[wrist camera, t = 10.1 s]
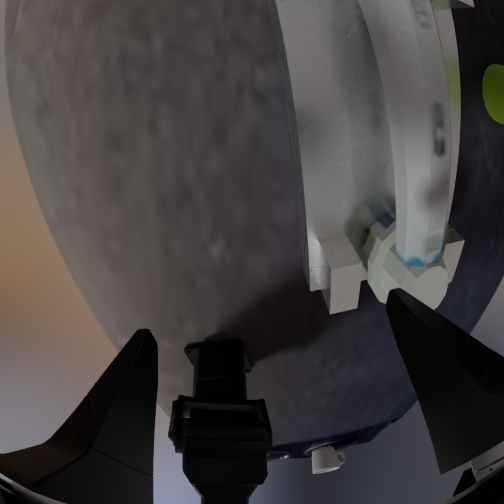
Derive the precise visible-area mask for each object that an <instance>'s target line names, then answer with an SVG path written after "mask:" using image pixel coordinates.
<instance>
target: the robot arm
mask: <svg viewBox="0 0 504 504" xmlns="http://www.w3.org/2000/svg"><path fill="white" fill-rule="evenodd" d="M386 312H387V315H388V318H389V321H390V324H391V327H392V331H393V334H394V337H395V340H396V344H397V346H398V349H399V351H400V353H401V356H402V358H403V361H404V363H405V366H406V368H407V371H408V373H409V376H410V379H411V381H412V384H413V387H414V389H415V392H416V395H417V398H418V400H419V403H420V406H421V409H422V412H423V415H424V418H425V421H426V424H427V427H428V430H429V434H430V437H431V441H432V444H433V447H434V451H435V455H436V459H437V463H438V466H439V470H440V473H441V474H444V473H446V472H448V471H450V470H453V469H454V468H457V467H459V466H461V465H463V464H465V463H467V462H469V461H470V464H471V467H469V468H468V469H466V470H465V471H464V472H463V475H462V477H461V479H460V481H459V483H458V485H457V488H456V490H455V492H454V494H453V498H452V499H450V500H448V501H446V502H445V503H443V504H504V357H503V356H501V355H500V354H498V353H497V352H495V351H493V350H492V349H490V348H488V347H487V346H485V345H484V344H482V343H481V342H479V341H478V340H476V339H475V338H473V337H472V336H471V335H469V334H467V333H466V332H465V331H464V330H462V329H461V328H459V327H458V326H456V325H455V324H454V323H452V322H451V321H449V320H448V319H446V318H445V317H444V316H442V315H441V314H439V313H438V312H436V311H435V310H433V309H432V308H430V307H429V306H427V305H426V304H424V303H423V302H421V301H420V300H418V299H417V298H415V297H414V296H412V295H411V294H409V293H408V292H406V291H405V290H403V289H401V288H394V289H391V290H390V291H389V293H388V297H387V301H386ZM184 352H185V354H186V355H187V357H188V359H189V360H190V362H191V363H192V365H193V366H194V377H193V396H192V397H188V396H184V395H179V397H178V399H177V400H175V401H173V404H172V415H171V421H170V426H169V432H168V437H169V438H170V439H171V441H172V442H173V445H174V446H175V452H176V453H182V454H183V472H184V474H185V475H186V477H187V478H188V480H189V482H190V483H191V484H192V486H193V487H194V488H195V490H196V491H197V493H198V494H199V495H200V497H201V504H249V497H250V496H251V494H252V493H253V492H254V490H255V489H256V487H257V486H258V485H262V484H263V483H264V480H265V479H266V477H267V475H268V472H267V455H270V453H271V450H272V430H271V425H270V421H269V417H268V413H267V409H266V405H265V401H264V399H259V400H247V389H246V374H245V373H250V372H251V371H252V367H251V364H250V362H249V359H248V356H247V353H246V350H245V347H244V344H243V342H242V341H240V340H236V341H229V342H221V343H213V344H205V345H196V346H187V347H185V348H184ZM157 389H158V345H157V342H156V340H155V338H154V337H153V335H152V333H151V332H150V330H149V329H147V328H146V329H138V330H137V331H136V332H135V333H134V335H133V336H132V337H131V338H130V340H129V341H128V342H127V343H126V345H125V346H124V347H123V348H122V350H121V351H120V352H119V354H118V355H117V356H116V357H115V359H114V360H113V361H112V362H111V364H110V365H109V366H108V368H107V369H106V370H105V371H104V373H103V374H102V375H101V377H100V378H99V379H98V381H97V382H96V383H95V384H94V386H93V387H92V388H91V390H90V391H89V392H88V395H87V396H85V398H84V399H83V400H82V402H81V403H80V404H79V406H78V407H77V408H76V410H75V411H74V412H73V413H72V414H71V415H70V416H69V418H68V419H67V420H66V421H65V422H64V423H63V424H62V426H61V427H60V428H59V429H58V430H57V431H56V432H55V434H54V435H53V436H52V437H51V438H50V439H48V440H47V441H46V442H44V443H42V444H40V445H36V446H33V447H29V448H26V449H22V450H18V451H14V452H10V453H5V454H0V473H1V474H3V475H4V476H6V477H8V478H9V479H11V480H12V483H10V482H8V481H6V480H4V479H2V478H0V504H153V455H154V431H155V430H154V429H155V415H156V401H157ZM185 416H187V417H190V418H185Z"/></svg>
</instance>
